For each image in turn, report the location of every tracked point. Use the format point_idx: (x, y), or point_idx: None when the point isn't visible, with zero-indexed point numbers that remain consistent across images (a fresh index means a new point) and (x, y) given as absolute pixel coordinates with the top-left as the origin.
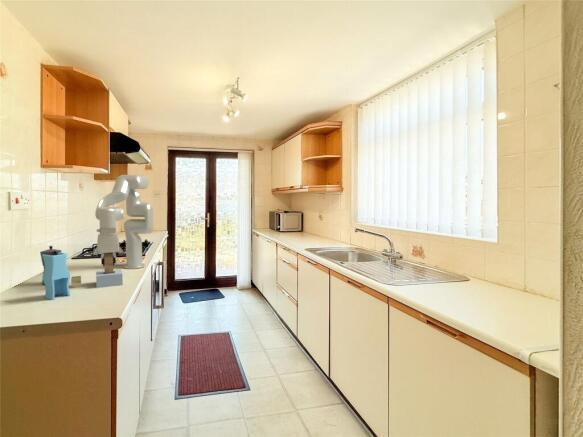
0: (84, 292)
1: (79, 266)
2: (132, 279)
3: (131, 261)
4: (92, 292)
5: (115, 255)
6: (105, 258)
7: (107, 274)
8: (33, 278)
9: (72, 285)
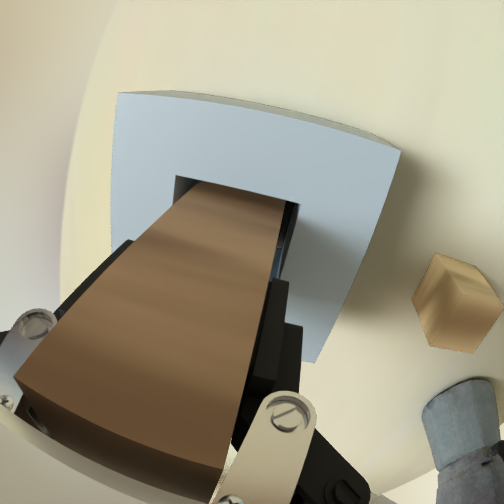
0: (469, 69)
1: None
2: (92, 221)
3: None
4: (426, 21)
5: (14, 340)
6: (221, 361)
7: (264, 157)
8: None
9: (478, 273)
